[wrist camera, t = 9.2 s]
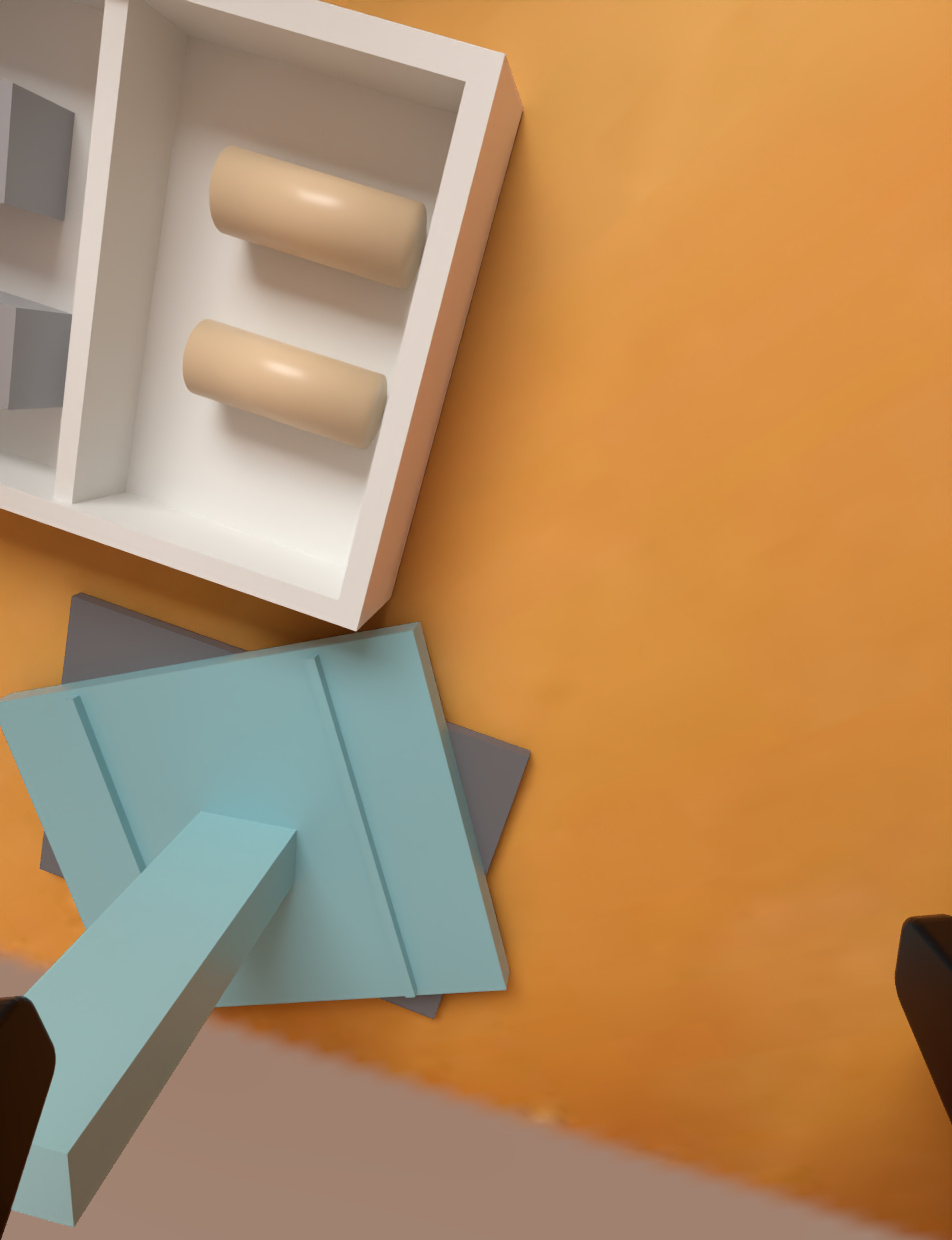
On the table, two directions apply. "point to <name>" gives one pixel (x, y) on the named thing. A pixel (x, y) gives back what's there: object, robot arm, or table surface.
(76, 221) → the tub
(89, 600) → the mat
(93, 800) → the lid
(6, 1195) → the robot arm
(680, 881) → the table surface
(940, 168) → the table surface
